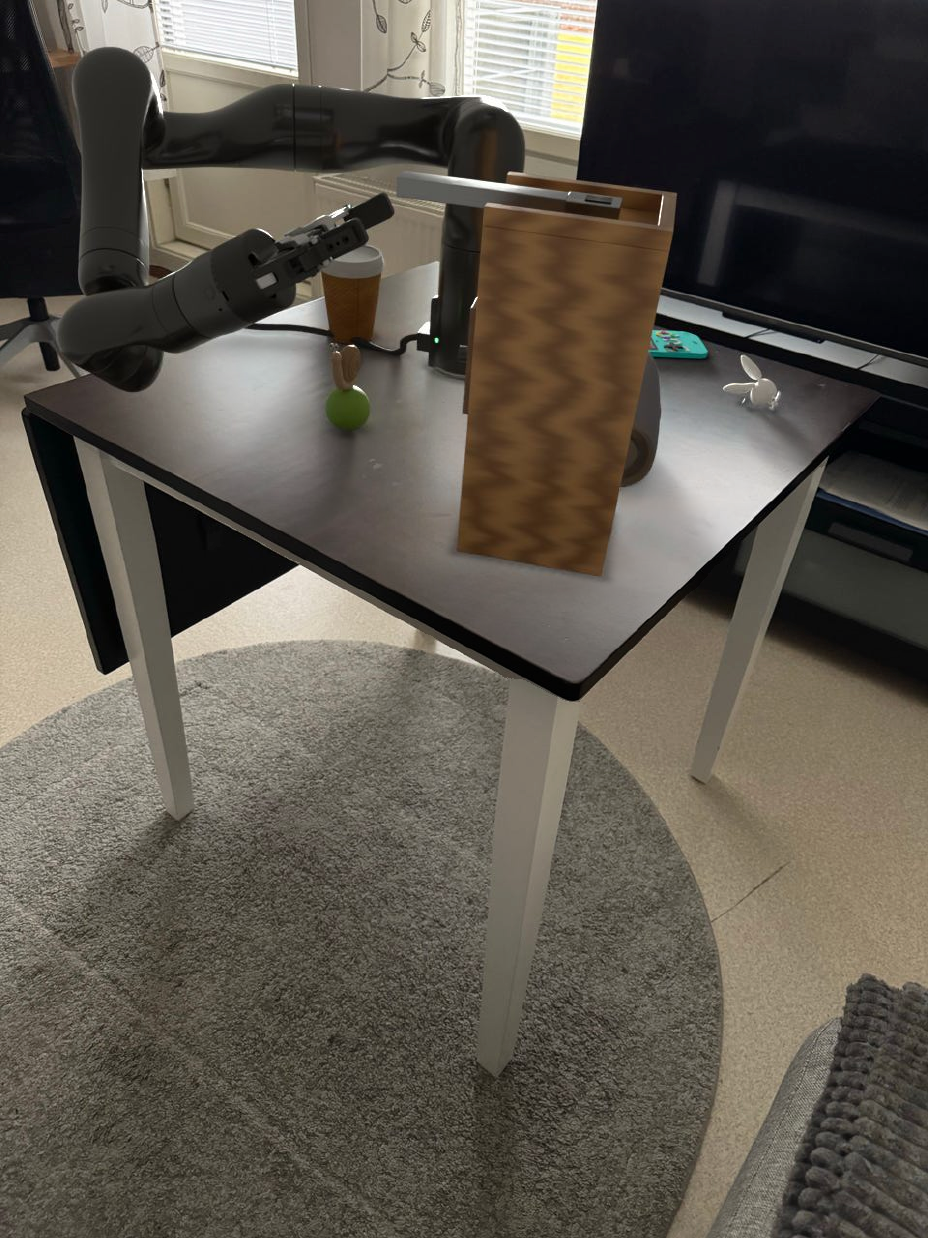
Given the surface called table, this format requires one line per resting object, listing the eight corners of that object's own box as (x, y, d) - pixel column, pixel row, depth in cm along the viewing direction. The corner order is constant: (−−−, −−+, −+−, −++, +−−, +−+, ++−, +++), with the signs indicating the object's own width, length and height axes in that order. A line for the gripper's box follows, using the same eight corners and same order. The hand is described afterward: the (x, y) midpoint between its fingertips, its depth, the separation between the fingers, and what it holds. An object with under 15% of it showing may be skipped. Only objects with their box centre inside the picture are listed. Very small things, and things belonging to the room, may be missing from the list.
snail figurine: (314, 435, 110) (310, 339, 103) (337, 414, 115) (336, 320, 108) (355, 445, 109) (354, 349, 102) (377, 423, 114) (378, 330, 106)
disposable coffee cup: (328, 319, 139) (326, 237, 131) (389, 327, 138) (391, 245, 130) (311, 343, 131) (308, 258, 124) (376, 352, 131) (377, 267, 123)
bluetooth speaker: (650, 503, 104) (668, 423, 97) (568, 491, 105) (581, 411, 98) (653, 415, 121) (669, 342, 115) (583, 405, 122) (595, 332, 116)
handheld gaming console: (710, 351, 136) (611, 348, 135) (708, 358, 137) (610, 355, 136) (695, 330, 143) (601, 326, 141) (693, 336, 144) (600, 332, 142)
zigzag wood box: (441, 548, 94) (464, 203, 73) (464, 490, 103) (491, 168, 82) (601, 577, 92) (673, 231, 71) (611, 515, 101) (677, 192, 80)
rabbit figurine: (772, 418, 123) (726, 382, 122) (757, 427, 127) (712, 393, 126) (793, 385, 124) (747, 349, 124) (778, 395, 128) (733, 361, 127)
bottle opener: (394, 198, 78) (395, 176, 77) (404, 188, 80) (405, 167, 79) (616, 227, 76) (620, 206, 75) (619, 217, 78) (622, 196, 77)
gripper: (282, 297, 95) (416, 233, 88) (226, 349, 84) (375, 281, 77) (242, 226, 91) (379, 155, 84) (179, 272, 80) (330, 194, 73)
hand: (377, 215), depth 81 cm, fingers open, 8 cm apart
